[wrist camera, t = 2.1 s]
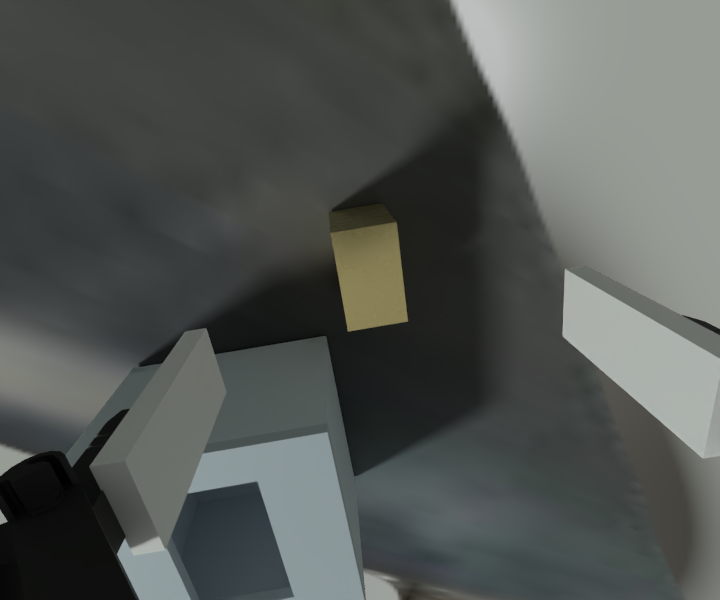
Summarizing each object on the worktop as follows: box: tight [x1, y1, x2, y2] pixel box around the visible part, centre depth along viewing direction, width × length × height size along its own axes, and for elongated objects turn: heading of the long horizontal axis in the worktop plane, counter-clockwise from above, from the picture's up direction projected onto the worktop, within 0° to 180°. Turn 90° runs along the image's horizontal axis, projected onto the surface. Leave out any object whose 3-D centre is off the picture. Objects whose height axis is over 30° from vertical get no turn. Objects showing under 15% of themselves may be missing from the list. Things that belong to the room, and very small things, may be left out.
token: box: [329, 203, 408, 332], centre depth 22 cm, size 5×3×5 cm, turn 8°
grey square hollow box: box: [65, 336, 366, 600], centre depth 24 cm, size 12×12×9 cm
